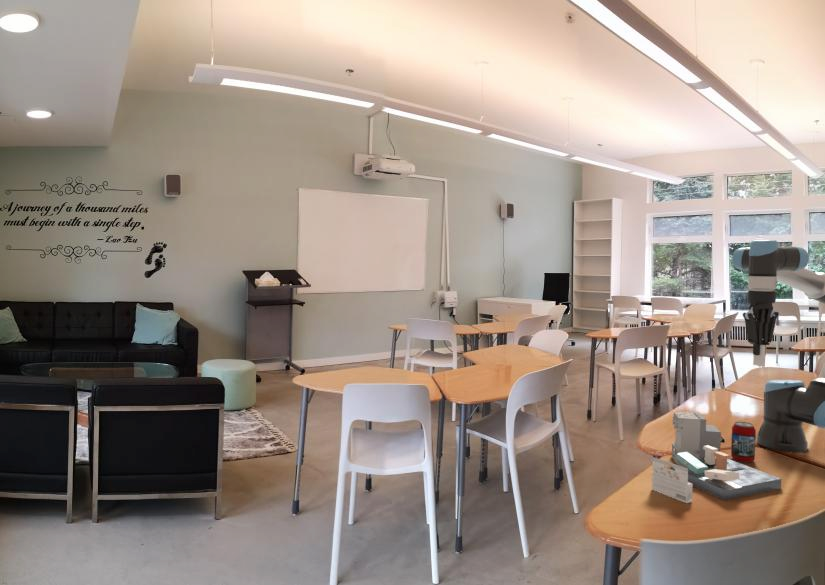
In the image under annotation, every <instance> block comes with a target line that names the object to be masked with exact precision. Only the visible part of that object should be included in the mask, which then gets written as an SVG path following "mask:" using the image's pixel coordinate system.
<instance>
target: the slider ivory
mask: <svg viewBox="0 0 825 585" xmlns="http://www.w3.org/2000/svg"><path fill="white" fill-rule="evenodd" d="M703 449H704V450H705V459H704V460H705V463H707V464H709V465H713V464H715V459H716V456H714V452H718V449H717V448H714V447H712V446H709V445H706V446H703Z"/></svg>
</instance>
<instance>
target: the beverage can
mask: <svg viewBox="0 0 825 585" xmlns="http://www.w3.org/2000/svg"><path fill="white" fill-rule="evenodd" d="M756 435H757V430H756V428H755V427H754V424H753V423H751V422H747V421H735V422H734V424H733V425H732V426H731V443H730V444H731V445H730V446H731V449H730V450H731V451H730V457H731V458H733V459H734V461H735V462H738V463H740V462H741V463H746V464H747V463H748V464H749V463H752V462H753V461H755V459H756V458H755V457H756V440H757V436H756Z"/></svg>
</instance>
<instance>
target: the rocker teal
mask: <svg viewBox="0 0 825 585" xmlns="http://www.w3.org/2000/svg"><path fill="white" fill-rule="evenodd" d="M676 459H677V460H678V461H680V462H681V463H682V464H684V465H685V466H686V467H688V468H689V469H690V470H692V471H693V472H694V473H695V474H699V473H704V471H707V469H708V467H707V466H706V465H705V464H703V463H702V462H701V461H699V460H698V459H697V458H695V457H694V456H692V455H691V454H690V453H688V452H682V453H677V455H676Z"/></svg>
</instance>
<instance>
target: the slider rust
mask: <svg viewBox="0 0 825 585" xmlns="http://www.w3.org/2000/svg"><path fill="white" fill-rule="evenodd" d="M714 456H716V457H715V459H716V469H718V470H725V471H727V459H730V457H731V454H727V453H725V452H722V451H720V452H714ZM730 460H731V459H730Z"/></svg>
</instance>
